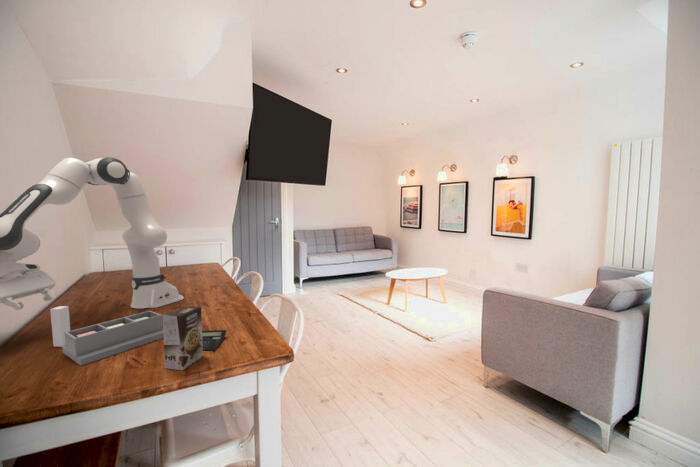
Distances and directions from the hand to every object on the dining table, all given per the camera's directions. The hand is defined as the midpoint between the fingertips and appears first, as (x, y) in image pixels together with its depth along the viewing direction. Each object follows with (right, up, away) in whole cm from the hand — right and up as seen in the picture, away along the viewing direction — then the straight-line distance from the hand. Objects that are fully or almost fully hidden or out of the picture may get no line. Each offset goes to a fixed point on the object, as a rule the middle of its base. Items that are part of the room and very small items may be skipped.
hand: (35, 303), depth 106 cm
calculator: (+58, -14, 0) cm, 60 cm away
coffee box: (+57, -15, -12) cm, 61 cm away
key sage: (+32, -9, +7) cm, 34 cm away
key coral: (+23, -10, -6) cm, 26 cm away
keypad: (+28, -14, +1) cm, 31 cm away
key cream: (+28, -10, 0) cm, 29 cm away
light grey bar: (+8, -14, +1) cm, 17 cm away
